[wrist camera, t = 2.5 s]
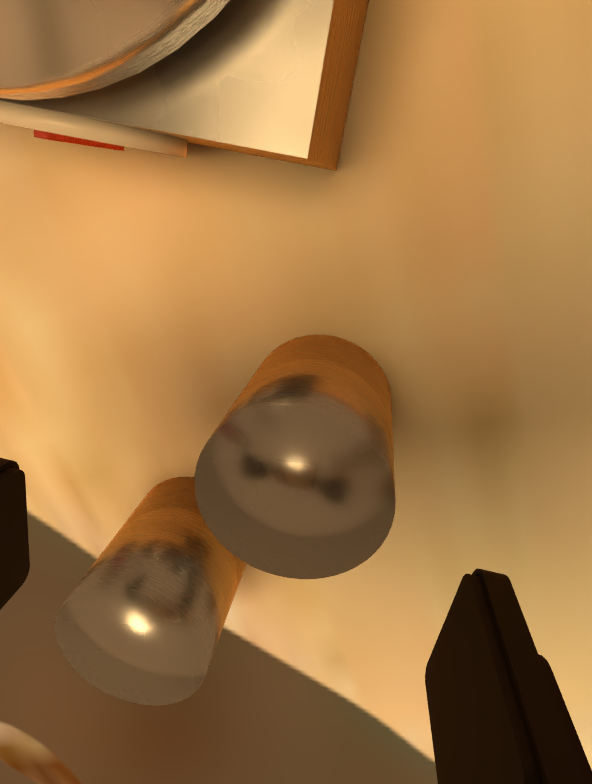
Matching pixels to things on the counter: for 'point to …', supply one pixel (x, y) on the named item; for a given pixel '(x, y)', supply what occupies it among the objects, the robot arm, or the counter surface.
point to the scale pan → (89, 41)
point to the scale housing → (226, 88)
